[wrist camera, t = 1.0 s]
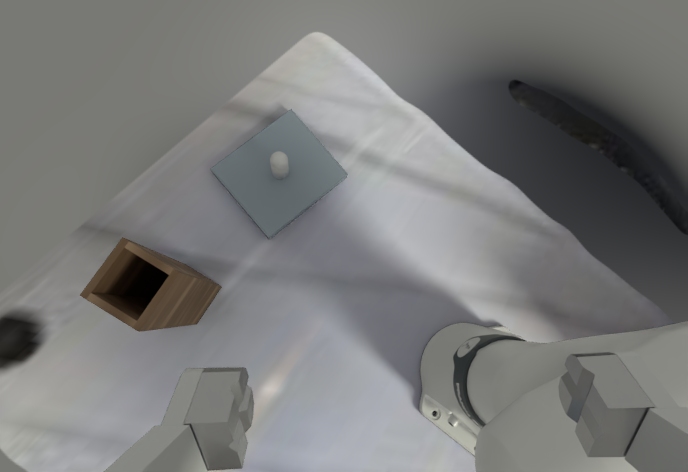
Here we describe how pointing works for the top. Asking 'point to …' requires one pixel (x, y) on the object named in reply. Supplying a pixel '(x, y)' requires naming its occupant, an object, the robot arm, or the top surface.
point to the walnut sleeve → (149, 289)
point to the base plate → (270, 190)
